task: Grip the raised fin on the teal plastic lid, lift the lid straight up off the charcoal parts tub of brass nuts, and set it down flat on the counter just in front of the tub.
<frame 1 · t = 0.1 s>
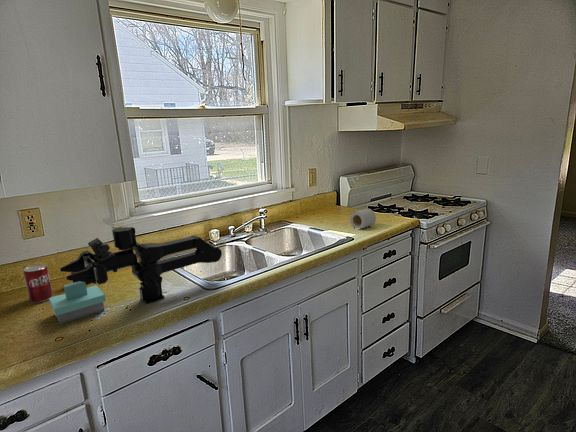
hand: (63, 273, 116), 17 cm above the counter, tool horizontal, fingers open, 9 cm apart
tub: (79, 312, 127), on the counter
soda can: (41, 299, 138), on the counter
battery: (83, 283, 151), on the counter
toilet paper: (362, 227, 214), on the counter
lid: (78, 302, 126), point 3 cm above the counter, touching tub
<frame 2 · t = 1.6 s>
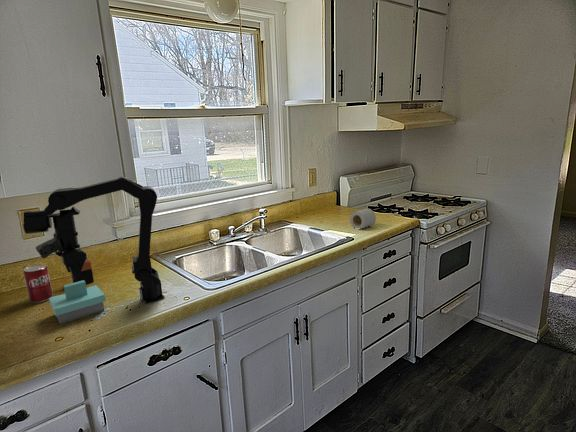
hand: (73, 276, 124), 13 cm above the counter, tool pointing down, fingers open, 9 cm apart
nothing on the counter moved.
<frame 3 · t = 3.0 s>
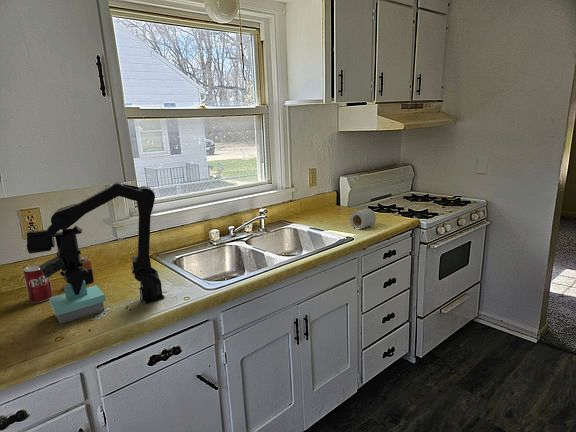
hand: (76, 293, 125), 7 cm above the counter, tool pointing down, fingers closed on lid
lid: (78, 302, 126), point 3 cm above the counter, touching gripper, tub
everything else where it was.
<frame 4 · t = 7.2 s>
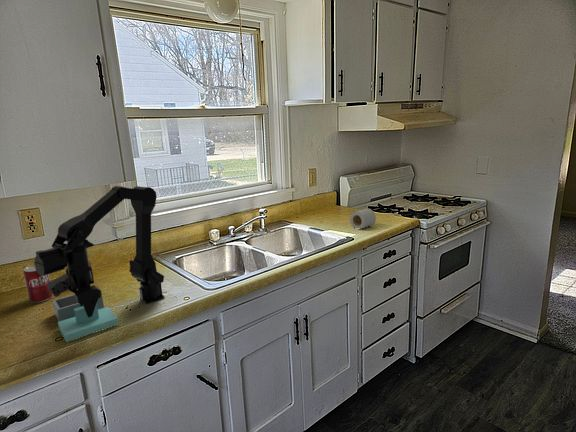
hand: (86, 312, 117), 5 cm above the counter, tool pointing down, fingers open, 7 cm apart
lid: (88, 326, 118), on the counter
everything else where it was.
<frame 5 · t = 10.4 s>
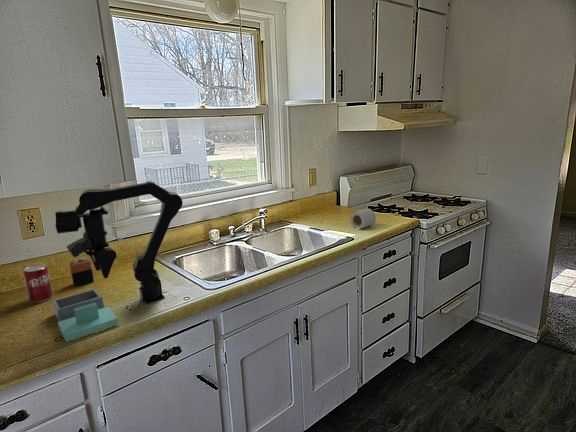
hand: (102, 274, 127), 12 cm above the counter, tool pointing down, fingers open, 9 cm apart
nothing on the counter moved.
at the end: lid inside the target area (0.1 cm from its centre), on the counter; lid tilted 0°; the gripper is holding nothing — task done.
